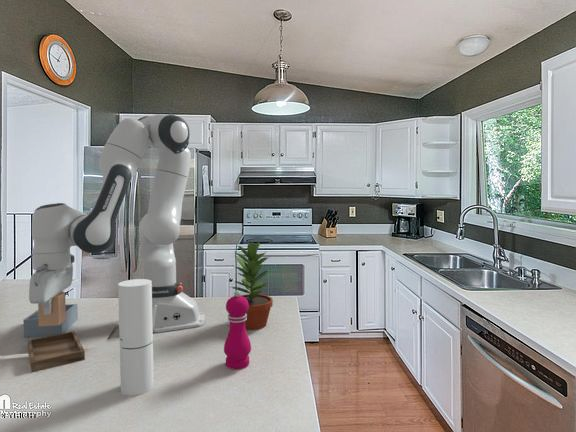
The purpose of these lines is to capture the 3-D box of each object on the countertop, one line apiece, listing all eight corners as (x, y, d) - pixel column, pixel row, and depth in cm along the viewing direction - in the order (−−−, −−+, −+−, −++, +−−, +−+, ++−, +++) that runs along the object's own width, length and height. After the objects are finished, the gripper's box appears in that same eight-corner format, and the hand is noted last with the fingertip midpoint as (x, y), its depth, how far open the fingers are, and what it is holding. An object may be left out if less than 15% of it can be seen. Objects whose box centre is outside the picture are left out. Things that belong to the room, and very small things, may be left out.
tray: (28, 348, 108) (27, 340, 108) (75, 338, 115) (74, 331, 115) (31, 372, 93) (31, 362, 93) (84, 359, 101) (84, 350, 101)
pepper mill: (239, 373, 93) (239, 295, 92) (218, 366, 97) (217, 291, 96) (256, 362, 100) (256, 289, 98) (235, 355, 103) (235, 285, 102)
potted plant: (262, 314, 138) (262, 235, 136) (279, 328, 125) (279, 240, 123) (223, 320, 132) (223, 237, 130) (237, 335, 118) (237, 243, 116)
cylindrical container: (145, 376, 91) (143, 277, 90) (158, 387, 86) (156, 282, 85) (116, 387, 86) (113, 282, 85) (127, 399, 81) (125, 288, 80)
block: (65, 319, 106) (65, 292, 106) (59, 325, 101) (58, 296, 101) (46, 320, 105) (45, 292, 105) (38, 326, 100) (38, 297, 100)
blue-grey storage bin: (78, 321, 130) (77, 303, 130) (62, 337, 116) (61, 317, 116) (44, 324, 128) (43, 305, 128) (24, 340, 114) (23, 319, 113)
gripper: (49, 268, 93) (50, 322, 94) (76, 255, 113) (77, 299, 114) (20, 269, 92) (22, 323, 92) (53, 255, 112) (54, 300, 112)
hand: (52, 310), depth 103 cm, fingers closed on block, 5 cm apart
